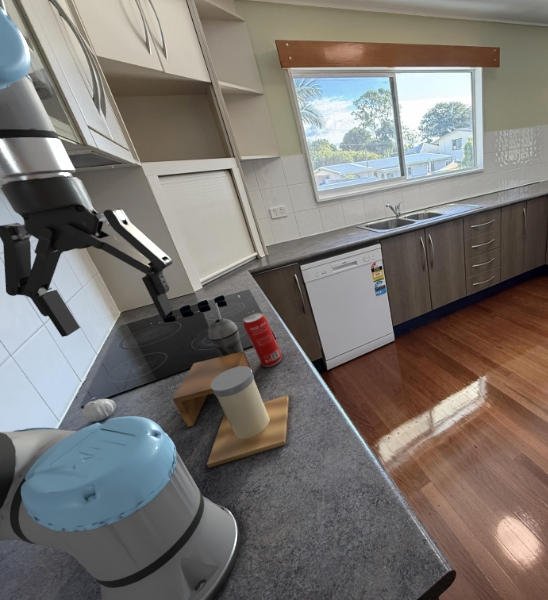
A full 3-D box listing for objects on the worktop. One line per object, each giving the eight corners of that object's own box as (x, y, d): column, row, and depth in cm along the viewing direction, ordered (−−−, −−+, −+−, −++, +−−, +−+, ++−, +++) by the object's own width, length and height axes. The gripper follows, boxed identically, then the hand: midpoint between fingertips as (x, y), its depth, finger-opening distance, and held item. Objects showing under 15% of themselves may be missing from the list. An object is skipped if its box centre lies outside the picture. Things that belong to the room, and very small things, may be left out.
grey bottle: (218, 375, 87) (189, 311, 78) (237, 360, 93) (212, 299, 85) (239, 377, 84) (211, 311, 76) (257, 361, 90) (233, 299, 82)
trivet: (285, 444, 61) (284, 440, 61) (208, 468, 58) (206, 464, 58) (289, 398, 74) (287, 395, 73) (226, 416, 71) (224, 412, 70)
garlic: (86, 430, 73) (74, 413, 71) (89, 418, 77) (77, 401, 75) (118, 416, 76) (107, 399, 74) (119, 405, 80) (109, 389, 78)
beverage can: (285, 354, 92) (270, 309, 86) (275, 368, 86) (258, 320, 80) (266, 355, 93) (250, 311, 87) (255, 369, 87) (237, 322, 81)
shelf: (244, 411, 72) (232, 383, 68) (187, 427, 69) (172, 399, 66) (253, 375, 84) (243, 350, 81) (205, 388, 82) (193, 363, 79)
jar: (268, 433, 63) (248, 383, 58) (229, 444, 62) (205, 395, 57) (272, 408, 70) (254, 362, 65) (237, 418, 68) (216, 372, 63)
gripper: (158, 165, 46) (212, 297, 54) (-44, 192, 42) (48, 329, 50) (130, 164, 39) (196, 314, 48) (-114, 195, 35) (6, 353, 44)
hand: (120, 322), depth 49 cm, fingers open, 13 cm apart
